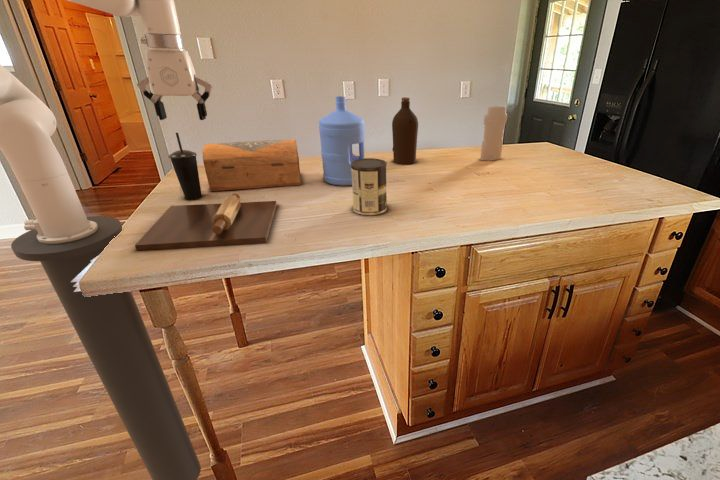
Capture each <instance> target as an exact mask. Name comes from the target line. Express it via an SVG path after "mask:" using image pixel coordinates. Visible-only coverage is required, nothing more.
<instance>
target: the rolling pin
mask: <svg viewBox="0 0 720 480" xmlns="http://www.w3.org/2000/svg"><path fill="white" fill-rule="evenodd" d="M221 203H222V204H221ZM221 203H220V204H221V205H220V207H219V209H218V210H217V212H216V213H215V215H214V217H213V218H212V222H213V226H214V227H213V229H212V230H213V232H214V233H215V234H221V233H222V231H223V230H228V228H229V227H230V226H231V225H232V223H233V221H234V219H235V217H236V215H237V213H238V211H239V209H240V207H241V203H242V202H241V196H240V194H239V193H237V192H234V193H232V194H231V195H230V194H229V195H227V196H226V197H225V198H224V199H223V201H222V202H221Z"/></svg>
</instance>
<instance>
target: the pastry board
mask: <svg viewBox="0 0 720 480" xmlns="http://www.w3.org/2000/svg"><path fill="white" fill-rule="evenodd" d="M277 203H278V202H277V200H265V201H246V202H241V207H240V209H239V211H238V213H237V215H236V217H235V219H234V221H233V223H232V225H231V226H230V227H229V228H228V230H223V231H222V233H221V234H215V233H214V232H213V230H212V229H213V227H214V226H213V222H212V218H213V217H214V215H215V213H216V212H217V210H218V209H219V207H220V205H221V204H222V202H221V203H200V204H182V205H180V204H178V205H170V206H169V207H168V209H166V210H165V212H164V213H163V214H162V215H161V216H160V217H159V219H157V220H156V221H155V222H154V224H152V226H151V227H150V228H149V229H148V230H147V231H146V232H145V233H144V235H143V236H142V237H140V239H139V240H138V241H137V242H136V243H135V244H134V247H135V251H137V252H141V251H155V250H169V249H171V250H172V249H186V248H203V247H219V246H233V245H249V244H250V245H251V244H266V243H267V242H268V238H269V235H270V231H271V227H272V224H273V220H274V217H275V214H276V211H277V207H278V204H277Z"/></svg>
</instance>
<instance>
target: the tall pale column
mask: <svg viewBox="0 0 720 480" xmlns="http://www.w3.org/2000/svg"><path fill="white" fill-rule="evenodd" d="M506 111H507V110H506V106H505V105H499V104H495V105H492V106H488V107H487V112H486V113H485V114H484V117H483V126H484V127H483V129H484V130H483V139H482V142H481V150H480V157H479V158H480V159H479V160H480V161H496V160H501V158H502V151H503V144H504V140H503V137H504V132H505V127H506V126H505V125H506V124H507V121H508V120H507V119H508V113H507V112H506Z"/></svg>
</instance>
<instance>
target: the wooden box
mask: <svg viewBox="0 0 720 480" xmlns="http://www.w3.org/2000/svg"><path fill="white" fill-rule="evenodd" d="M299 158H300V157H299V152H298V145H297V140H296V139H272V140H271V139H267V140H250V141H249V140H248V141H232V142H217V143H207V144H204V145H203V147H202V162H203V167H204V171H205V175H206V178H207V184H208V187H209V191H210V192H218V191H219V192H220V191H232V190H243V189H244V190H246V189H247V190H248V189H260V188H262V189H263V188H273V187H274V188H275V187H290V186H291V187H292V186H301V185H302V178H301V177H302V176H301V168H300V159H299Z"/></svg>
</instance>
